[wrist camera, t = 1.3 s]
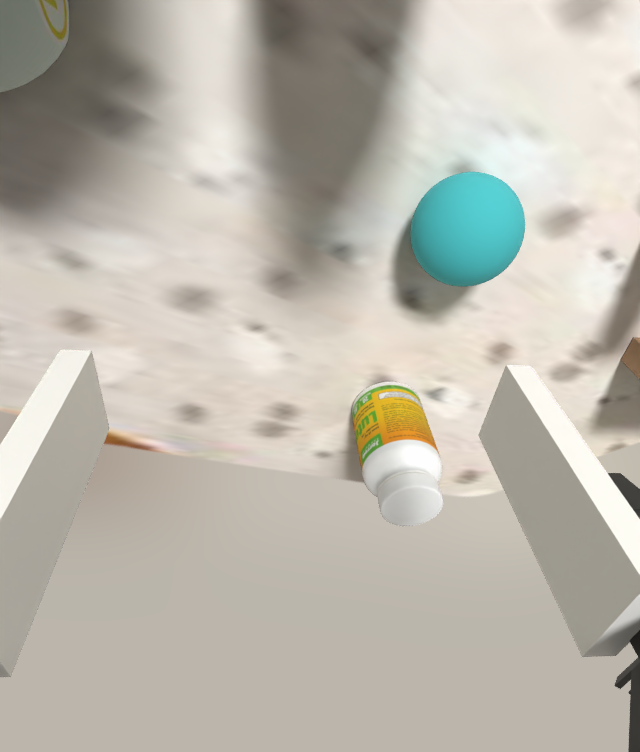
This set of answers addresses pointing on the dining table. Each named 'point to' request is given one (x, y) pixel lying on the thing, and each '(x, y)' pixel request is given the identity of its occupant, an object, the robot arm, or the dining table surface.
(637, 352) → the walnut backstop
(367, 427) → the supplement bottle
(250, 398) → the dining table surface
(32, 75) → the air freshener
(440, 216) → the ball
